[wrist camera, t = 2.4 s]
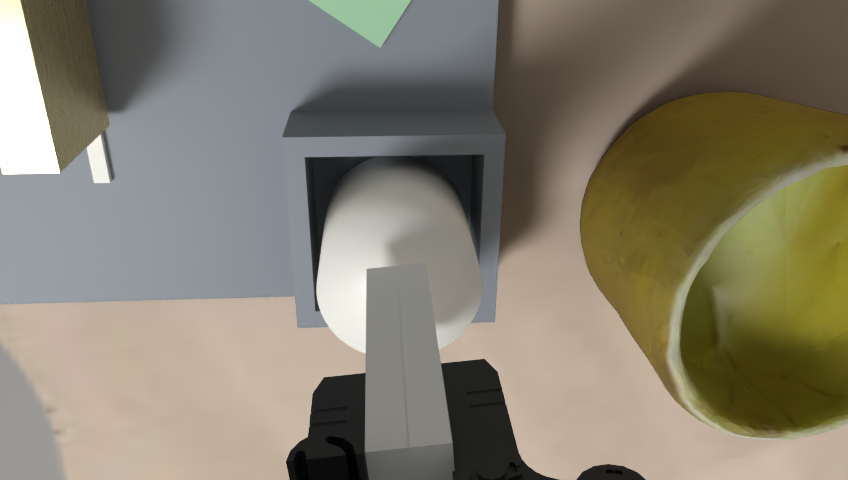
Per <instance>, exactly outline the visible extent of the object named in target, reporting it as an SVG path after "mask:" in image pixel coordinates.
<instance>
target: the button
mask: <svg viewBox="0 0 848 480" xmlns="http://www.w3.org/2000/svg"><path fill="white" fill-rule="evenodd" d="M418 263H426V266H427V273H428V280H429V286H430V293H431V300H432V307H433V314H434V320H435V327H436V334H437V341H438V348H439V350H440V349H442V348H444V347H445V346H447V345H449V344H450V343H451V342H453V341H454V340H455V339H457V338H458V337H459V336H460V335H461V334H462V333H463V332H464V331H465V330H466V329H467V327H468V326H469V325H470V323H471V322H472V320H473V319H474V317H475V315H476V313H477V310H478V308H479V305H480V302H481V298H482V290H483V286H482V275H481V270H480V266H479V263H478V259H477V255H476V252H475V248H474V245H473V241H472V238H471V234H470V231H469V227H468V223H467V220H466V216H465V213H464V209H463V206H462V202H461V199H460V196H459V194H458V192H457V190H456V188H455V186H454V185H453V183H452V182H451V180H450V179H449V178H448V177H447V176H446V175H445V174H444V173H443V172H442V171H441V170H440V169H438V168H437V167H435V166H434V165H432V164H431V163H429V162H426V161H424V160H422V159H419V158H416V157H412V156H379V157H375V158H372V159H369V160H366V161H364V162H362V163H360V164H358V165H357V166H355V167H353V168H352V169H351V170H349V171H348V172H347V173H346V174H345V175H344V176H343V177H342V178H341V179H340V180H339V181H338V183H337V184H336V186H335V187H334V189H333V191H332V193H331V195H330V197H329V200H328V204H327V209H326V216H325V223H324V231H323V238H322V246H321V254H320V261H319V269H318V277H317V290H316V294H317V301H318V305H319V308H320V312H321V314H322V316H323V318H324V320H325V322H326V323H327V325H328V326H329V328H330V329H331V330H332V331H333V332H334V334H335V335H336V336H337V337H338V338H340V339H341V340H342V341H343V342H344V343H346V344H347V345H349V346H350V347H352V348H354V349H356V350H358V351H360V352H362V353H365V354H366V273H367V269H369V268H379V267H389V266H399V265H409V264H418Z"/></svg>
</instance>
